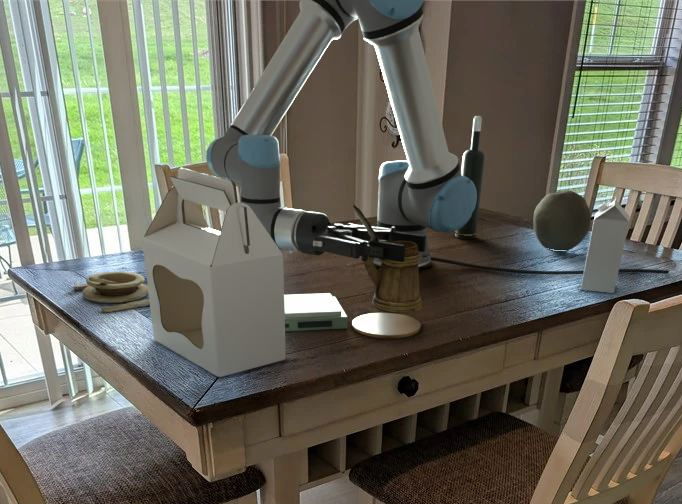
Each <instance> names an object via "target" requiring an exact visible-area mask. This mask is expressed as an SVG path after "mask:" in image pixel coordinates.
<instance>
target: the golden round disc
mask: <svg viewBox="0 0 682 504" xmlns="http://www.w3.org/2000/svg"><path fill="white" fill-rule="evenodd" d="M351 328H352V329H353V330H354V331H355V332H357V333H359V334H361V335H364V336H367V337H371V338H378V339H379V338H380V339H400V338H408V337H411V336H414V335H416V334H418V333H419V332H420V331H421V328H422V324H421V322H420V321H419V320H418V319H416V318H415V317H412V316H409V315H405V314H402V313H389V312H371V313H366V314H361V315H359V316H356V317H355V318H354V319H352V321H351Z"/></svg>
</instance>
